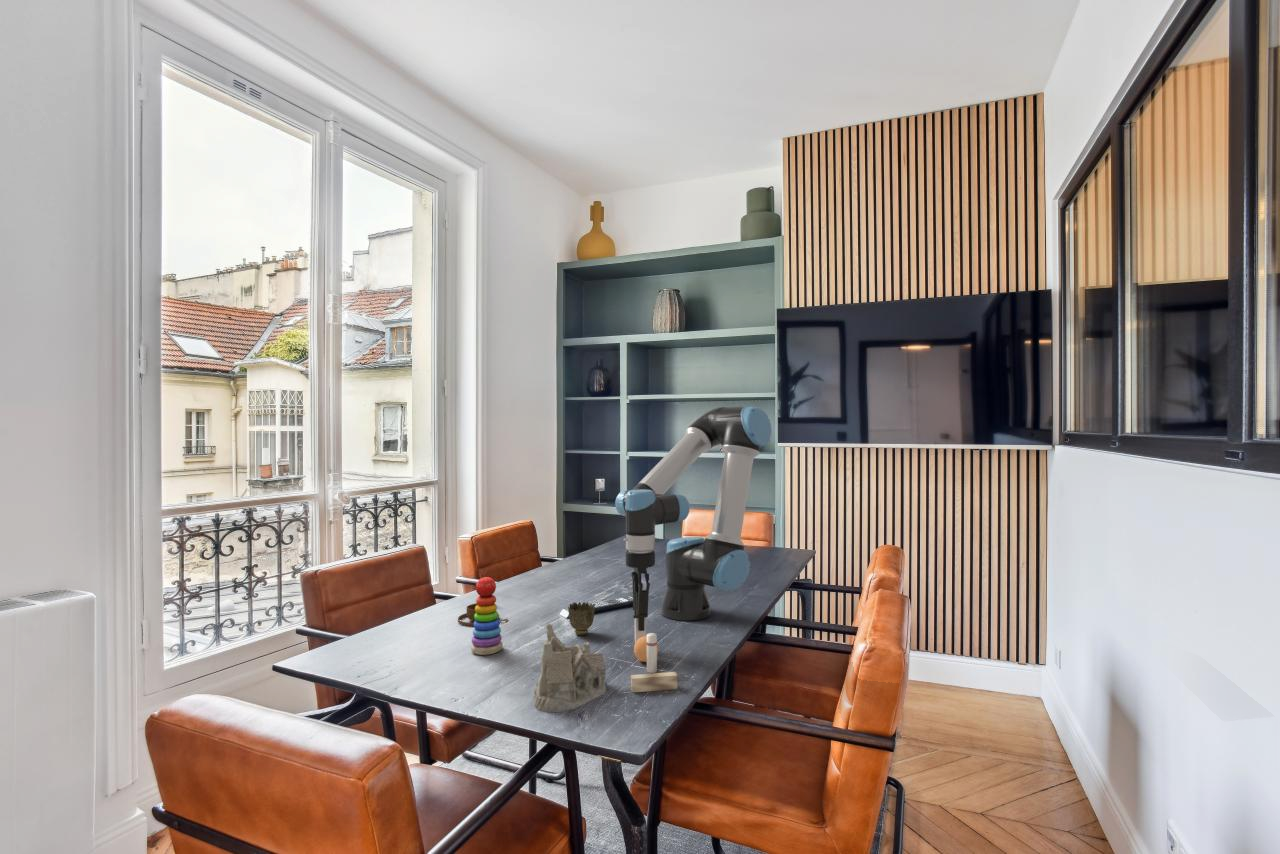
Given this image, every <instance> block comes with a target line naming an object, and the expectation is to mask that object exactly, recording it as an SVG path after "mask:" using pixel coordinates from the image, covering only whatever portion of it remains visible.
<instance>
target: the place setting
mask: <svg viewBox="0 0 1280 854" xmlns="http://www.w3.org/2000/svg"><path fill="white" fill-rule="evenodd" d="M477 605H478V604H477V603H472V604H469V605H467V606H466V613H463V614H461V615H459V616H458V617H457V622H458V624H459V623H460V625H461V624H462V625H461V626H464V625H465V626H464V627H471V626H474V622H475V621H476V620H475V618H474V615H475V613H476V611H475V607H476V606H477ZM465 617H467V618H468V620H470V621H471V622H466V621H462V620H464V619H466V618H465ZM463 618H464V619H463ZM461 619H462V620H461ZM498 619H499V621H500V622H501V621H506V622H505V623H508V621H509V619H508V618H504V619H502V620H500V613H498ZM460 620H461V621H460ZM472 621H473V622H472ZM501 623H502V624H505V623H504V622H501Z"/></svg>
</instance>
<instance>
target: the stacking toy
mask: <svg viewBox="0 0 1280 854" xmlns="http://www.w3.org/2000/svg"><path fill="white" fill-rule="evenodd" d="M475 590H476V591H475V592H476V593H477V594H478V597H476V599H475V601H476V603H477V604H478V605H477V606H476V607H475V611H476V613H475V615H474V618H475V620H476V621H475V622H473V623H474V627H473V631H472V638H471V643H472V644H471V646H470V650H471V652H472V653H473V654H475V655H481V656H486V655H493V654H496V653H498V652H500V651H501V650H502V649H503V647H504V645H503V642H502V640H503V639H502V634H501V632H502V629H501V627H500V621H501V620H500V618H499V619H498V614H499V613H498V611H497V609H498V605H497V604H496V601H497V597H496V596H495V595H494V594H495V592H496V590H497V583H496V581H495V580H494V579H493V578H492V577H489V576H485V577H484V576H483V577H481V578H480V579H479V580H478V581H477V582H476V583H475ZM476 603H475V604H476Z"/></svg>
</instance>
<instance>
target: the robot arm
mask: <svg viewBox="0 0 1280 854" xmlns="http://www.w3.org/2000/svg"><path fill="white" fill-rule="evenodd" d="M771 438H772V423H771V420H770V418H769V416H768V414H767V413H766V411H765V410H764V409H762V408H761V407H758V406H749V405H745V406H722V407H721V406H719V407H715V408H713V409H711V410H709V411H707V412H705V413H704V414H702V415H701V416H699V417H698V418H697V419H696V420H695V421H693V422H692V423H691V424H690V425H689V426H688V427H687V428H686V430H685V431H684V436H683V437H682V438H681V439H680V440H679V441H678V442H677V443H676V444H675V445H674V446H673V447H672V448H671V450H669V452H667V454H666V455H665V456H663V457H662V458H661V460H660V461H659V462H658V463H657V464H655V466H654V467H653V468H652V469H651V470H650V471H648V473H647V474H646V475H645V476H644V477H643V478H642V479H641V480H640V481H639V482H638V483H637V485H635V486H634V487H633V488H632V489H625V490H622V491H620V492H619V493H618V494H617V496H616V498H615V501H614V503H615V504H614V505H615V509H616V511H617V512H618V514H619V515H621V516H623V517H625V537H624V538H623V542H625V549H626V551H625V565H626V567H629V568H633V571H631V576H630V577H631V580H632V581H631V582H632V604H633V605H632V610H633V615H632V617H633V619H634V642H635V643H636V641H637V640H638V639H639V638H641V637H643V636H647V618H648V617H649V596H650V594H649V592H650V586H651V584H650V582H649V581H650V574H649V573H648V571H647V569H649V568H652V567H654V566H655V564H656V552H655V551H654V550H655V549H656V526H658V525H666V524H673V523H674V524H676V523H678V522H679V523H680V522H683V521H685V520H686V519H687V518H688V517H689V514H690V503H689V501H688V499H687V497H686V496H685V495H683V494H681V493H670V494H666V493H667V492H668V490H669V489H670V488H671V487H672V486H673V485H674V484H675V483H676V482H677V481H678V480H679V479H680V478H681V476H682V475H683V474H684V473H685V472H686V471H687V470H689V468H690V467H691V466H692V465H693V463H694V462H695V461H696V460H697V459H698V458H699V457H701V455H702V454H704V453H708V452H709V451H711V449H713V447H716V446H720V448H721V450H722V451H723V452H724V457H723V463H722V469H721V474H720V480H719V486H718V493H717V498H716V503H715V509H714V515H713V520H712V527H711V532H710V533H709V534H707V535H706V536H705V537H702V536H689V537H688V536H687V537H686V536H685V537H678V538H673V539H670V540H668V542H667V544H666V552H665V557H666V558H665V559H666V560H665V561H666V562H665V563H666V564H665V565H666V589H665V592H664V595H663V599H662V602H661V605H660V614H661V615H662V616H664V617H665V618H667V619H672V620H676V621H698V620H703V619H706V617H707V618H708V617H710V616H711V613H712V612H711V611H712V610H711V604H710V601H709V597H708V593H707V591H706V587H705V586H710V587H713V588H716V589H719V590H727V591H733V590H736V589H738V588H740V586H741V585H743V584H744V583H745V581H746V579H747V578H748V575H749V573H750V567H751V562H750V558H749V555H748V553H746V551H745V544H744V542H743V540H742V539H741V536H742V529H743V523H744V518H745V512H746V507H747V500H748V493H749V488H750V481H751V476H752V469H753V463H754V459H755V458H756V457H757V456H759V455H760V452H761V448H762V447H764V446H766V445H767V444H768V443H769V441H770V439H771ZM709 615H710V616H709ZM635 643H634V644H635Z"/></svg>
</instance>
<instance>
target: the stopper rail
mask: <svg viewBox="0 0 1280 854" xmlns="http://www.w3.org/2000/svg"><path fill="white" fill-rule="evenodd" d="M677 689H678V674H677V672H676V671H669V672H665V671H664V672H655V673H640V674H631V675H630V690H631V693H632V694H633V693H641V692H655V691H671V690H677Z"/></svg>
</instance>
